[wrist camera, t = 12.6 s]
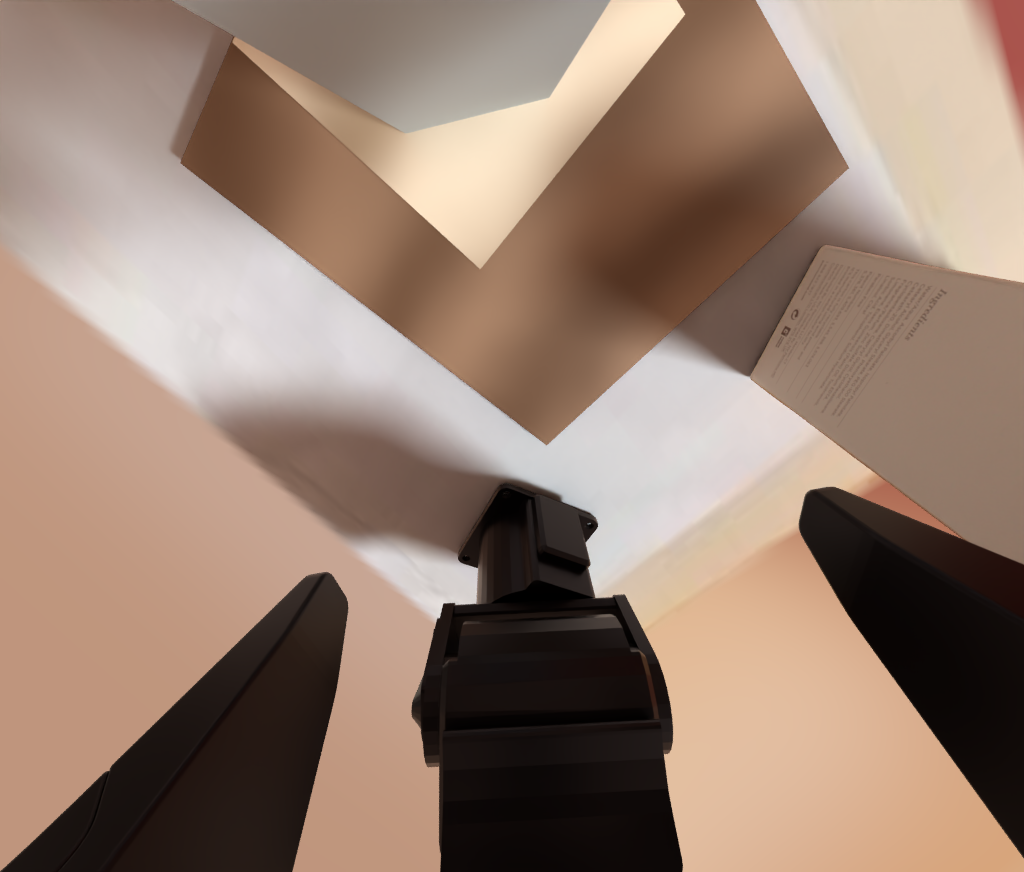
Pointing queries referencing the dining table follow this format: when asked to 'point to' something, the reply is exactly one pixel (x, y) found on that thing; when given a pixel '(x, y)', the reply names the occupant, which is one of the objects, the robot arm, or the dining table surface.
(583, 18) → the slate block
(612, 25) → the brown square board
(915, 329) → the small box
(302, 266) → the dining table surface
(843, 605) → the robot arm
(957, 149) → the dining table surface
